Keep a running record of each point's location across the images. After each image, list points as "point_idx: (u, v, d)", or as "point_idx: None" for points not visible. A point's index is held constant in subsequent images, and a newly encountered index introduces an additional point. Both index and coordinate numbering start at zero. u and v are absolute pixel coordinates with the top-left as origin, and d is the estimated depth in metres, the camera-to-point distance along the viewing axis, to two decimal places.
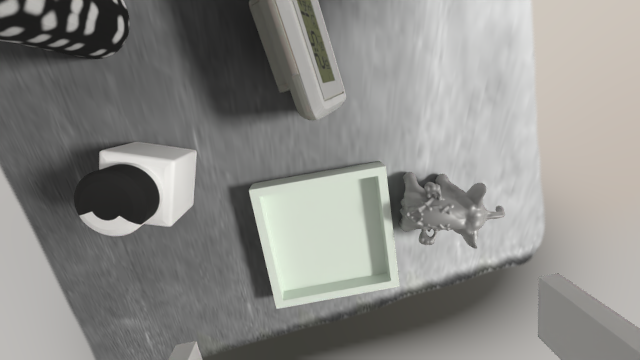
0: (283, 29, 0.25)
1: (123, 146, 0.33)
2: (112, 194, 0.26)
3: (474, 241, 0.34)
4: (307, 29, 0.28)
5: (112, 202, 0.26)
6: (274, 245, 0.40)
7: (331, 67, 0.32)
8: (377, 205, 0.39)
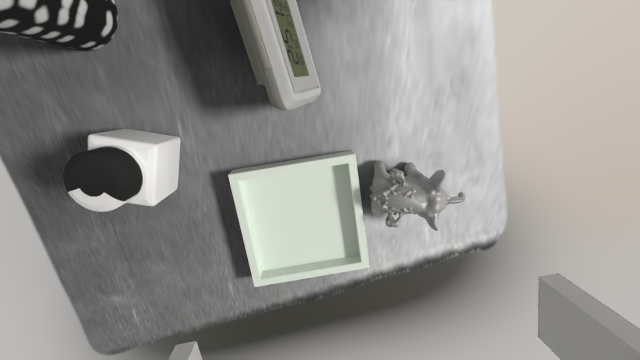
0: (257, 26, 0.28)
1: (111, 131, 0.36)
2: (98, 173, 0.29)
3: (434, 223, 0.37)
4: (281, 27, 0.30)
5: (98, 180, 0.29)
6: (253, 227, 0.43)
7: (306, 63, 0.35)
8: (349, 191, 0.42)
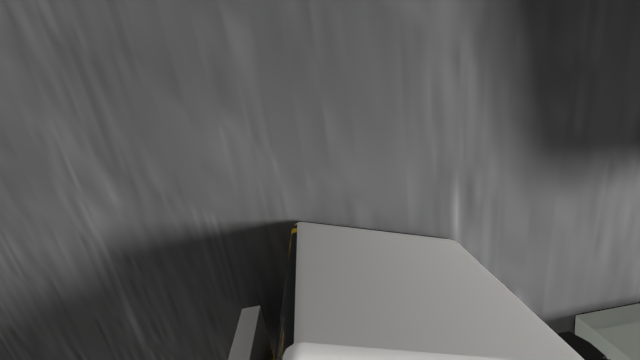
0: None
1: (315, 272, 0.09)
2: None
3: None
4: None
5: None
6: None
7: None
8: None
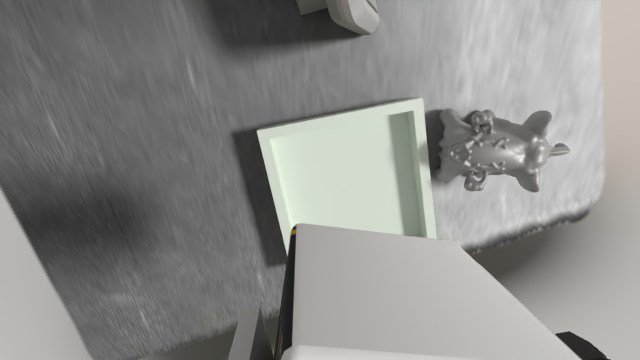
0: None
1: (314, 274, 0.09)
2: None
3: (536, 182, 0.28)
4: None
5: None
6: (288, 202, 0.34)
7: None
8: (410, 151, 0.33)
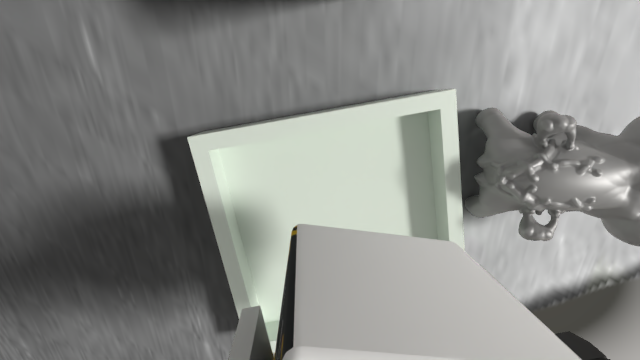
0: None
1: (315, 274, 0.09)
2: None
3: None
4: None
5: None
6: (245, 244, 0.22)
7: None
8: (430, 171, 0.22)
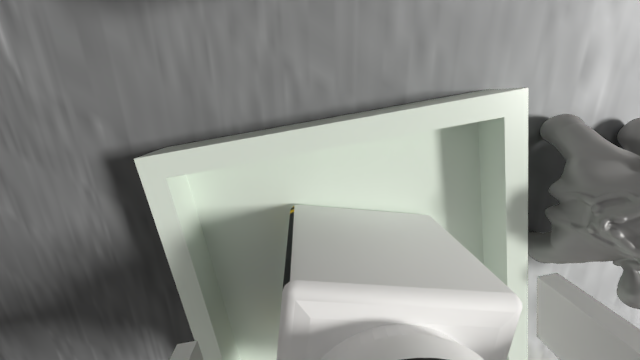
0: None
1: (308, 238, 0.11)
2: None
3: None
4: None
5: None
6: (225, 299, 0.16)
7: None
8: (478, 201, 0.16)
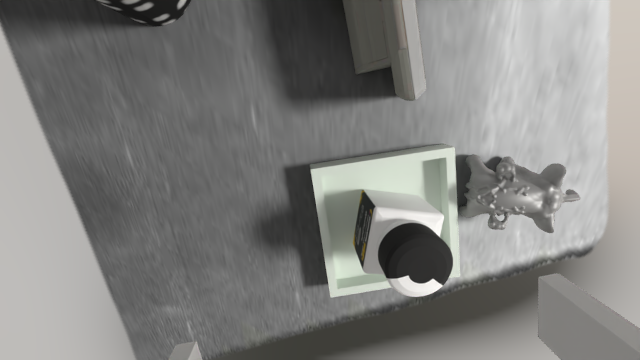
0: None
1: (375, 198, 0.33)
2: (431, 259, 0.26)
3: (551, 225, 0.32)
4: None
5: (429, 266, 0.26)
6: (329, 230, 0.38)
7: None
8: (439, 190, 0.37)
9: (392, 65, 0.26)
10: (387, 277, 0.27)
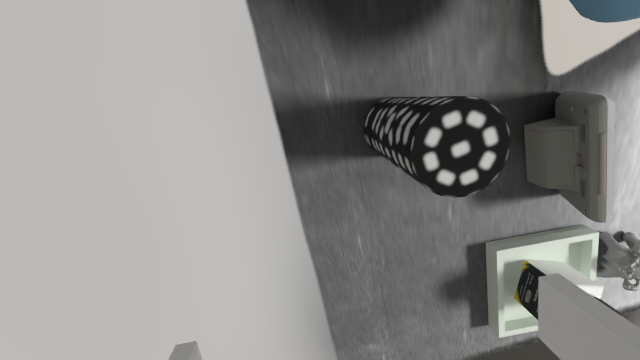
0: (605, 166, 0.37)
1: (546, 272, 0.47)
2: None
3: None
4: None
5: None
6: None
7: None
8: (579, 258, 0.51)
9: (590, 201, 0.39)
10: None
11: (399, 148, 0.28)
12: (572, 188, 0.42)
